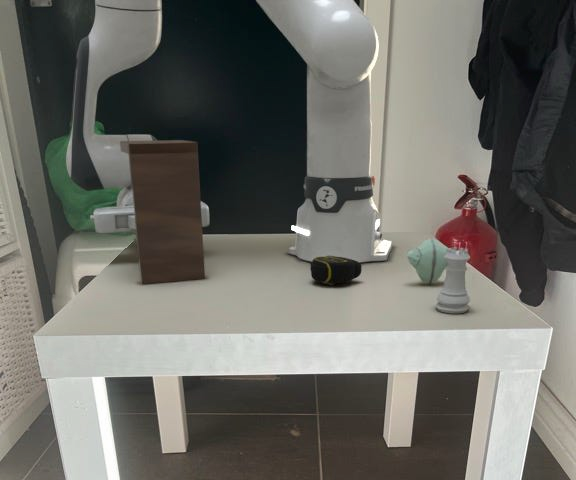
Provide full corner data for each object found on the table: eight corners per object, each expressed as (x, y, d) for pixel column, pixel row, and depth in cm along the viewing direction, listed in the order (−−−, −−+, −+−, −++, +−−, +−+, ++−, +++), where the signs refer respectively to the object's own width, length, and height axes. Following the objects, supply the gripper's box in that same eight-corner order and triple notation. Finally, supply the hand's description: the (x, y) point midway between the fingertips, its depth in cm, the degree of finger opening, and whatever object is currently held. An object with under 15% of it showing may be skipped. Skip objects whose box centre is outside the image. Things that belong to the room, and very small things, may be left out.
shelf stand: (132, 269, 109) (119, 141, 101) (190, 265, 113) (182, 140, 105) (142, 284, 100) (128, 143, 92) (205, 278, 103) (197, 142, 95)
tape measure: (363, 282, 100) (364, 258, 99) (334, 290, 96) (335, 265, 94) (330, 275, 104) (330, 252, 103) (301, 282, 100) (301, 258, 98)
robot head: (406, 287, 97) (408, 242, 94) (399, 281, 100) (402, 237, 98) (458, 286, 97) (462, 241, 95) (449, 280, 101) (453, 236, 98)
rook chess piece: (433, 304, 88) (438, 245, 85) (466, 305, 87) (472, 246, 84) (437, 314, 84) (442, 252, 81) (472, 314, 83) (478, 253, 80)
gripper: (86, 198, 116) (92, 208, 104) (198, 193, 122) (215, 201, 110) (91, 233, 119) (97, 247, 107) (200, 226, 125) (217, 238, 113)
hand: (158, 223), depth 109 cm, fingers closed on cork, 4 cm apart
